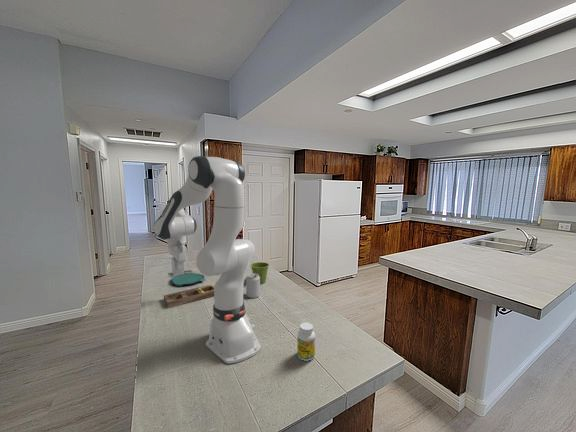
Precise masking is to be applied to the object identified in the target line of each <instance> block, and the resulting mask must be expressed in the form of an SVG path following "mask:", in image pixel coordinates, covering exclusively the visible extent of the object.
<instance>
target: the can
mask: <svg viewBox="0 0 576 432" xmlns="http://www.w3.org/2000/svg"><path fill="white" fill-rule="evenodd" d="M246 275H247V277H245V279H246V281H245V287H246V289H245V290H246V291H245V294H246V296H247V297H248V298H249V299H256V298H258V297H259V296H260V294H261V283H260V277H259V275H258V274H256V273H253V272H252V273H251V272H250V273H249V274H246Z"/></svg>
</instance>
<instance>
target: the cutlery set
mask: <svg viewBox="0 0 576 432" xmlns="http://www.w3.org/2000/svg"><path fill="white" fill-rule="evenodd" d="M168 275H169V276H170V278H171V279H170V283H171V284H173V285H175V286H177V287H181V286H190V285H194V284H198V283H200V282H202V283H204V282H205V279H206V278H205V275H203V274H202V273H197V272H196V273H195V272H193V271H192V270H191V269H190V270H184V273H183V274H178V275H174V274H173V273H172V272H168Z"/></svg>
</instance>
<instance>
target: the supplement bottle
mask: <svg viewBox="0 0 576 432" xmlns="http://www.w3.org/2000/svg"><path fill="white" fill-rule="evenodd" d="M296 340H297V345H296V348H297V349H296V350H297V353H296V354H297V357H298V359H300V360H302V361H303V360H304V361H305V362H309V360H310V361H312V360H313V359H314V358H315V356H316V333H315V331H314V325H313V324H312V323H310V322H302V323H301V324H299V331H298V332H297V339H296Z"/></svg>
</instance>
